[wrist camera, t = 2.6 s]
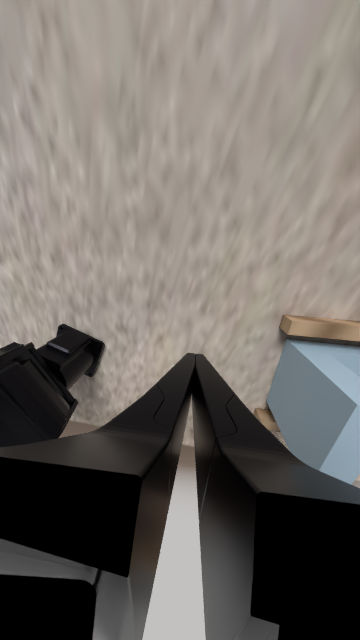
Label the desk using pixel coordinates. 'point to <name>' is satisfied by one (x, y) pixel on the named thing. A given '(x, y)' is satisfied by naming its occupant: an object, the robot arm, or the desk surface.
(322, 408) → the block
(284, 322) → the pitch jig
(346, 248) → the desk surface
